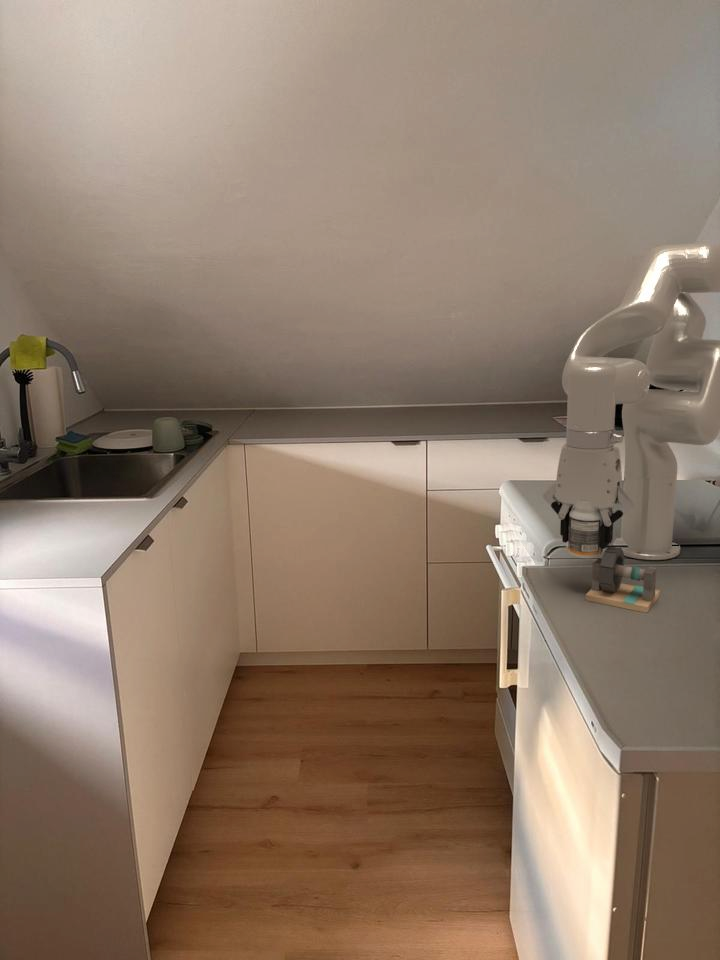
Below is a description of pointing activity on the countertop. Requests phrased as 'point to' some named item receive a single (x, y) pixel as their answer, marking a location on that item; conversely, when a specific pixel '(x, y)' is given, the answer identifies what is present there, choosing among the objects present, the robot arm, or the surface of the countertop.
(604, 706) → the countertop surface
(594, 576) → the rail
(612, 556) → the octagonal nut
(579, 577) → the countertop surface
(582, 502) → the pill bottle
